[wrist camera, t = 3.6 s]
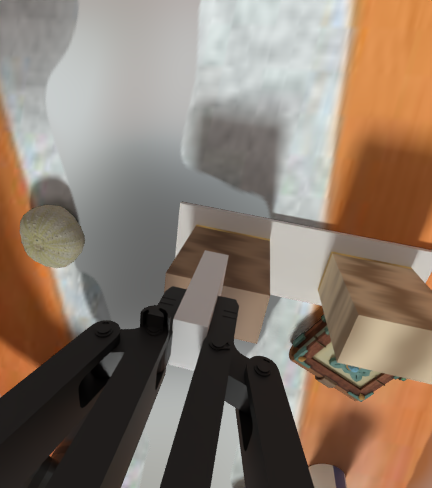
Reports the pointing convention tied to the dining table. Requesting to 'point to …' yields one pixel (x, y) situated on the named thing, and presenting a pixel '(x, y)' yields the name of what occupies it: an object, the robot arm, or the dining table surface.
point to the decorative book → (334, 365)
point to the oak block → (378, 316)
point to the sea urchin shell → (51, 236)
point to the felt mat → (300, 248)
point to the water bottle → (327, 476)
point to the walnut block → (230, 273)
